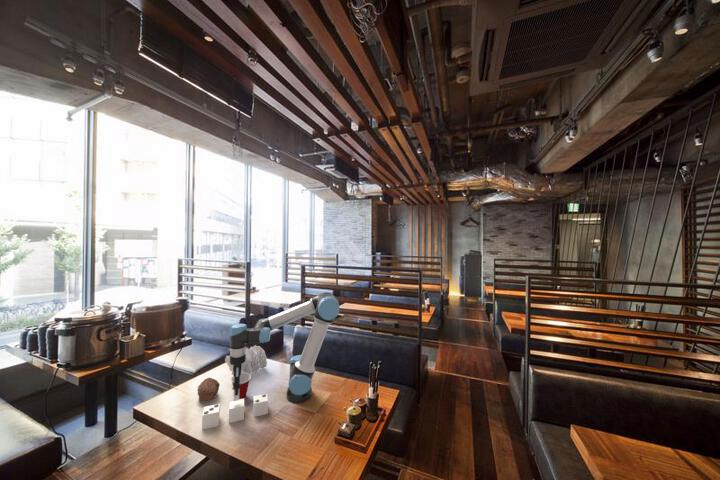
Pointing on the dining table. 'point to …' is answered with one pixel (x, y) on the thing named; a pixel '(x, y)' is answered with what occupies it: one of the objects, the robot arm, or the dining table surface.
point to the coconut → (208, 389)
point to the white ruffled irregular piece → (251, 360)
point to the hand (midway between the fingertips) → (236, 399)
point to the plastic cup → (243, 384)
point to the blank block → (236, 410)
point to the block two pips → (260, 405)
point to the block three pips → (210, 416)
